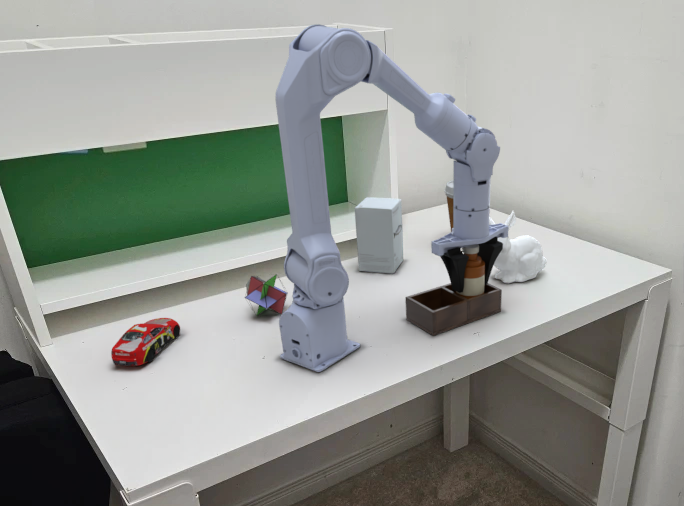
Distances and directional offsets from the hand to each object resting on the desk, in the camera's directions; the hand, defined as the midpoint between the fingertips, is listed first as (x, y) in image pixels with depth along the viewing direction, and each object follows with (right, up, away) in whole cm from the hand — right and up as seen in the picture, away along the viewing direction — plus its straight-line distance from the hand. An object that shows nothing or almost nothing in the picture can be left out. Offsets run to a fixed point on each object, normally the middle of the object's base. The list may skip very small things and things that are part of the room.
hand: (470, 286), depth 110 cm
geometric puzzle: (-34, -4, +2) cm, 34 cm away
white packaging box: (-17, +6, +20) cm, 27 cm away
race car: (-49, -11, -9) cm, 51 cm away
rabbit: (+8, +4, +15) cm, 17 cm away
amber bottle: (0, -3, +2) cm, 3 cm away
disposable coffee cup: (0, +14, +33) cm, 36 cm away
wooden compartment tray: (-3, -5, 0) cm, 6 cm away
